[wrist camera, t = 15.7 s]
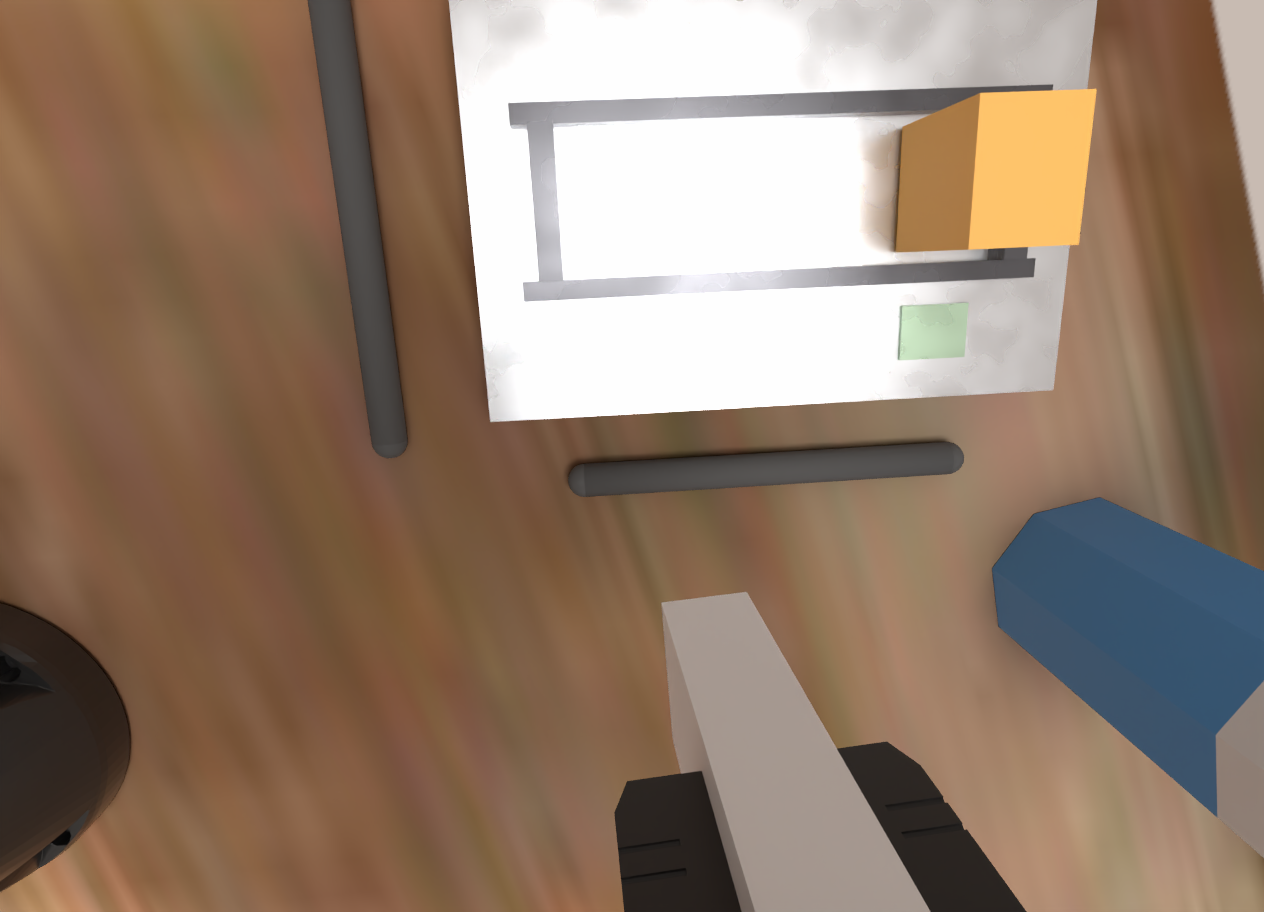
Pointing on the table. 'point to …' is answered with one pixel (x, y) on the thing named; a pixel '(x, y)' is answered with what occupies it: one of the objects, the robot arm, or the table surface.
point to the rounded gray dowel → (359, 221)
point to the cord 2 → (764, 469)
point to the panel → (740, 201)
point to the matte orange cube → (996, 172)
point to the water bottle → (1149, 644)
